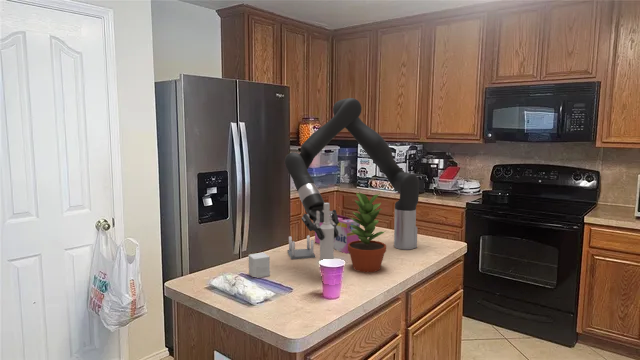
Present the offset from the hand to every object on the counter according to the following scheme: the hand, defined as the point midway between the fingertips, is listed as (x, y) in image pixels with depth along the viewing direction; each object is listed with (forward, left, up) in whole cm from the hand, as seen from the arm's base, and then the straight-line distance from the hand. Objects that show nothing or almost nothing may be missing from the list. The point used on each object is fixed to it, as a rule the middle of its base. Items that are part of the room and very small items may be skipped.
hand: (329, 237), depth 144 cm
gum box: (-13, -40, -15) cm, 45 cm away
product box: (+24, -11, -15) cm, 30 cm away
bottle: (+1, -2, -13) cm, 14 cm away
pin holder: (+5, -31, -15) cm, 34 cm away
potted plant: (-17, -9, -15) cm, 25 cm away
